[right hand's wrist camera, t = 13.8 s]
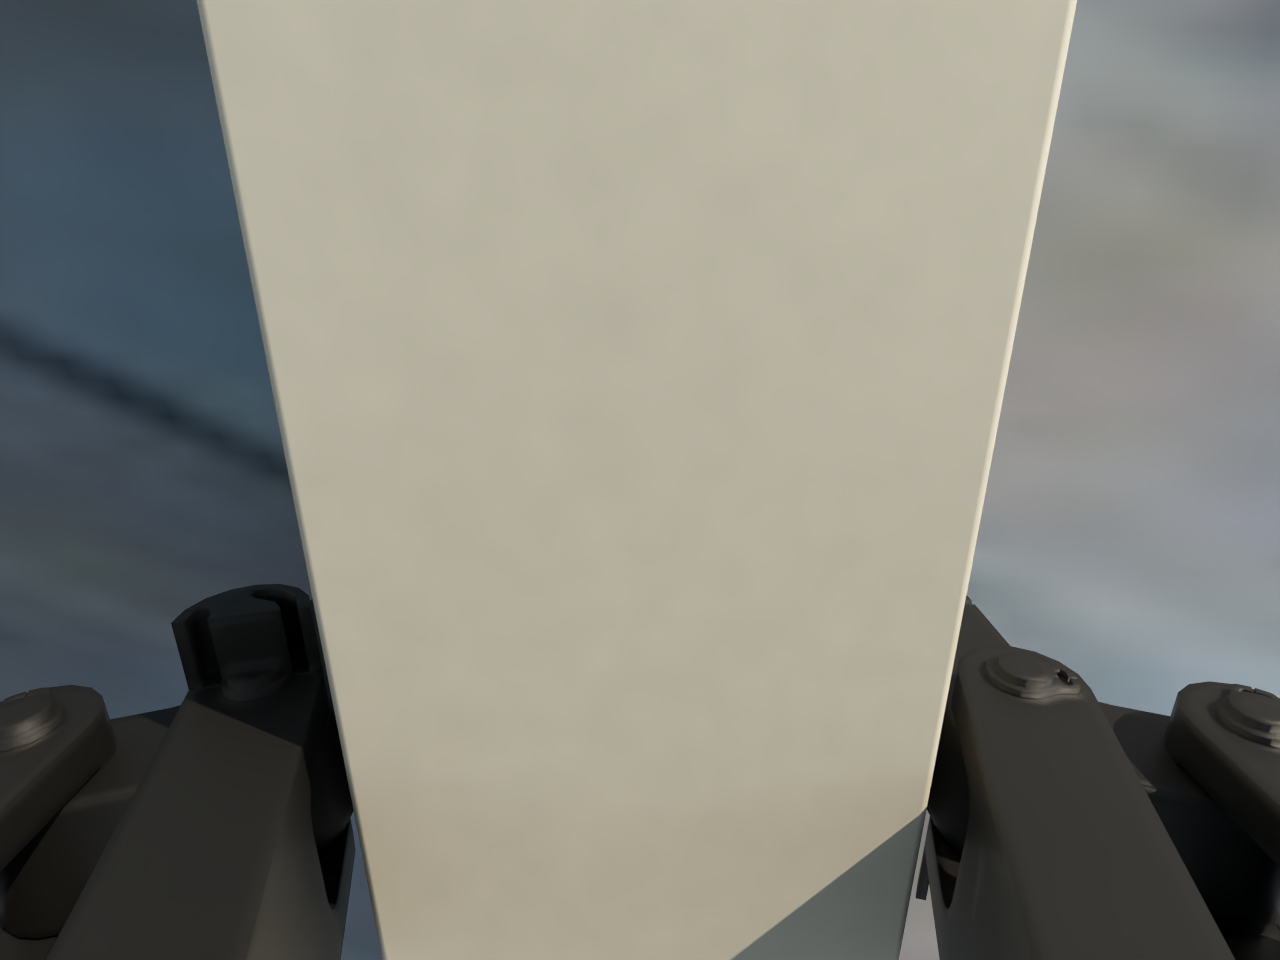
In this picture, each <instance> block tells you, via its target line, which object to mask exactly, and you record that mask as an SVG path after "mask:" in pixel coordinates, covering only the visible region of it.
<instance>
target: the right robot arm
mask: <svg viewBox="0 0 1280 960" xmlns="http://www.w3.org/2000/svg"><path fill="white" fill-rule="evenodd" d="M171 624H172V628H173V632H174V635H175V639H176V643H177V647H178V650H179V654H180V658H181V662H182V665H183V669H184V673H185V676H186V680H187V684H188V688H189V691H188V693H187V695H186V697H185V699H184V701H183V703H182V705H180V706H176V707H172V708H168V709H163V710H158V711H153V712H147V713H142V714H137V715H132V716H127V717H122V718H117V719H111V720H110V719H109V716H108V713H107V710H106V706H105V703H104V700H103V697H102V696H101V695H100V694H99V693H97V692H96V691H95V690H94V689H92V688H89V687H81V686H74V685H68V686H59V687H50V688H40V689H35V690H30V691H29V693H26V692H23V693H20V694H17V695H14V696H11V697H8V698H7V699H5V700H4V701H2V702H0V960H340V959H341V952H342V945H343V937H344V930H345V923H346V915H347V908H348V901H349V893H350V886H351V879H352V872H353V864H354V857H355V843H354V835H353V830H352V825H351V819H350V817H351V815H352V813H353V811H354V810H353V804H352V799H351V794H350V789H349V784H348V779H347V773H346V768H345V763H344V758H343V753H342V748H341V742H340V737H339V732H338V727H337V722H336V717H335V712H334V706H333V701H332V696H331V691H330V686H329V681H328V675H327V670H326V665H325V660H324V655H323V650H322V644H321V639H320V634H319V629H318V624H317V619H316V614H315V608H314V603H313V599H312V600H311V601H310V599H309V595H307V594H306V593H305V592H303V591H302V590H301V589H299V588H297V587H292V586H287V585H282V584H269V585H253V586H248V587H243V588H238V589H232V590H229V591H226V592H223V593H220V594H217V595H215V596H212V597H209V598H206V599H204V600H202V601H200V602H199V603H197V604H195V605H193V606H191V607H190V608H188V609H186V610H184V611H183V612H182V613H181V614H180V615H179V616H178V617H177V618H176V619H175V620H174V621H173V622H172V623H171ZM927 810H928V812H929V814H930V819H929V825H928V830H927V835H926V841H925V846H924V851H923V857H922V862H921V867H920V873H919V878H918V884H917V892H916V898H918V899H923V900H926V896H927V891H928V886H929V884H930V892H931V899H932V906H933V914H934V921H935V928H936V936H937V943H938V950H939V957H940V960H1280V698H1277V696H1275V695H1273V694H1271V693H1269V692H1266V691H1262V690H1259V689H1256V688H1255V690H1254V689H1252V688H1251V687H1248V686H1243V685H1239V684H1226V683H1217V682H1203V683H1195V684H1189V685H1187V686H1186V687H1185V688H1184V689H1182V690H1181V691H1180V692H1178V695H1177V698H1176V701H1175V704H1174V707H1173V710H1172V713H1171V717H1170V716H1165V715H1160V714H1155V713H1150V712H1144V711H1139V710H1134V709H1129V708H1124V707H1119V706H1113V705H1109V704H1105V703H1101V702H1098V701H1097V699H1096V698H1095V696H1094V694H1093V692H1092V690H1091V689H1090V687H1089V686H1088V685H1087V684H1086V683H1085V682H1084V680H1083V679H1082V678H1081V677H1080V676H1079V675H1078V674H1077V673H1075V672H1074V671H1072V670H1071V669H1069V668H1068V667H1066V666H1065V665H1063V664H1062V663H1060V662H1059V661H1056V660H1054V659H1051V658H1049V657H1046V656H1044V655H1041V654H1039V653H1037V652H1034V651H1029V650H1025V649H1020V648H1016V647H1011V646H1010V645H1009V644H1008V643H1007V642H1006V640H1005V639H1004V638H1003V637H1002V636H1001V635H1000V633H999V632H998V631H997V630H996V629H995V628H994V626H993V625H992V624H991V623H990V622H989V621H988V619H987V618H986V617H985V616H984V615H983V614H982V612H981V611H980V610H979V609H978V608H977V607H976V605H972V603H971V600H970V598H969V597H968V596H967V595H966V600H965V605H964V610H963V616H962V621H961V626H960V632H959V637H958V643H957V648H956V653H955V659H954V664H953V669H952V675H951V680H950V686H949V691H948V696H947V702H946V707H945V712H944V718H943V723H942V729H941V734H940V739H939V745H938V750H937V756H936V761H935V766H934V772H933V777H932V782H931V788H930V793H929V799H928V804H927Z"/></svg>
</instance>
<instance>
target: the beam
mask: <svg viewBox="0 0 1280 960" xmlns="http://www.w3.org/2000/svg"><path fill="white" fill-rule="evenodd" d="M1076 3H1077V0H197V5H198V10H199V15H200V20H201V26H202V31H203V36H204V41H205V46H206V51H207V57H208V62H209V67H210V72H211V77H212V82H213V87H214V93H215V98H216V103H217V108H218V113H219V118H220V124H221V129H222V134H223V139H224V144H225V149H226V155H227V160H228V165H229V170H230V175H231V180H232V185H233V191H234V196H235V201H236V206H237V211H238V216H239V222H240V227H241V232H242V237H243V242H244V247H245V253H246V258H247V263H248V268H249V273H250V278H251V283H252V289H253V294H254V299H255V304H256V309H257V314H258V320H259V325H260V330H261V335H262V340H263V345H264V351H265V356H266V361H267V366H268V371H269V376H270V381H271V387H272V392H273V397H274V402H275V407H276V412H277V418H278V423H279V428H280V433H281V438H282V443H283V448H284V454H285V459H286V464H287V469H288V474H289V479H290V485H291V490H292V495H293V500H294V505H295V510H296V516H297V521H298V526H299V531H300V536H301V541H302V546H303V552H304V557H305V562H306V567H307V572H308V577H309V583H310V588H311V593H312V598H313V603H314V608H315V614H316V619H317V624H318V629H319V634H320V639H321V644H322V650H323V655H324V660H325V665H326V670H327V675H328V681H329V686H330V691H331V696H332V701H333V706H334V712H335V717H336V722H337V727H338V732H339V737H340V742H341V748H342V753H343V758H344V763H345V768H346V773H347V779H348V784H349V789H350V794H351V799H352V804H353V810H354V815H355V820H356V825H357V830H358V835H359V840H360V846H361V851H362V856H363V861H364V866H365V871H366V877H367V882H368V887H369V892H370V897H371V902H372V908H373V913H374V918H375V923H376V928H377V933H378V938H379V944H380V949H381V954H382V959H383V960H899V954H900V949H901V944H902V938H903V933H904V928H905V922H906V917H907V911H908V906H909V901H910V895H911V890H912V885H913V879H914V874H915V868H916V863H917V858H918V852H919V847H920V842H921V836H922V831H923V825H924V820H925V815H926V809H927V804H928V799H929V793H930V788H931V782H932V777H933V772H934V766H935V761H936V756H937V750H938V745H939V739H940V734H941V729H942V723H943V718H944V712H945V707H946V702H947V696H948V691H949V686H950V680H951V675H952V669H953V664H954V659H955V653H956V648H957V643H958V637H959V632H960V626H961V621H962V616H963V610H964V605H965V600H966V594H967V589H968V583H969V578H970V573H971V567H972V562H973V557H974V551H975V546H976V540H977V535H978V530H979V524H980V519H981V514H982V508H983V503H984V497H985V492H986V487H987V481H988V476H989V471H990V465H991V460H992V454H993V449H994V444H995V438H996V433H997V428H998V422H999V417H1000V411H1001V406H1002V401H1003V395H1004V390H1005V385H1006V379H1007V374H1008V368H1009V363H1010V358H1011V352H1012V347H1013V342H1014V336H1015V331H1016V325H1017V320H1018V315H1019V309H1020V304H1021V299H1022V293H1023V288H1024V282H1025V277H1026V272H1027V266H1028V261H1029V256H1030V250H1031V245H1032V239H1033V234H1034V229H1035V223H1036V218H1037V212H1038V207H1039V202H1040V196H1041V191H1042V186H1043V180H1044V175H1045V169H1046V164H1047V159H1048V153H1049V148H1050V143H1051V137H1052V132H1053V126H1054V121H1055V116H1056V110H1057V105H1058V100H1059V94H1060V89H1061V83H1062V78H1063V73H1064V67H1065V62H1066V57H1067V51H1068V46H1069V40H1070V35H1071V30H1072V24H1073V19H1074V14H1075V8H1076Z"/></svg>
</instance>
